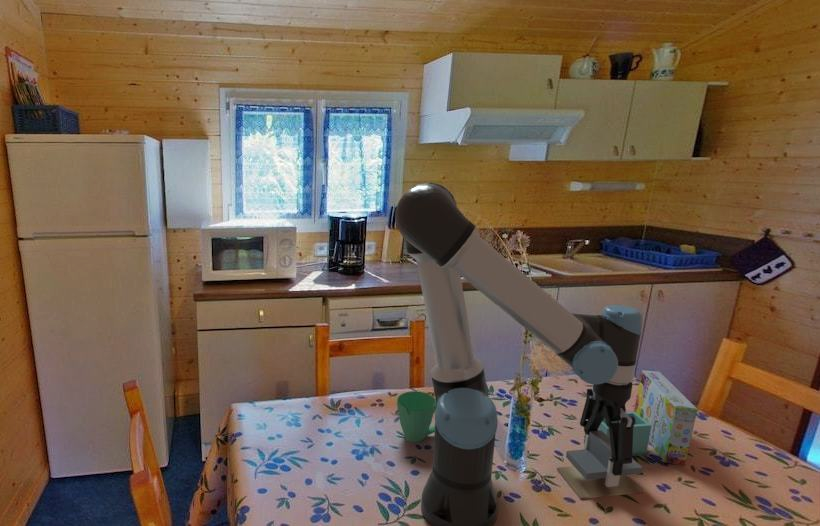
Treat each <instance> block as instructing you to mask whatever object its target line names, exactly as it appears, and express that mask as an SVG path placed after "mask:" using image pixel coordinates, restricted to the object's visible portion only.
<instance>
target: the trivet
mask: <svg viewBox="0 0 820 526" xmlns="http://www.w3.org/2000/svg"><path fill="white" fill-rule="evenodd" d="M556 470H557V472H558V473H559V474H560V476H561V477H562V478H563V479H564V481H565V482H566V483H567V485H569V487H570V488H571V490H572V491H574V493H575V495H577V497H578V498H579V500H586V499H595V498H606V497H615V496H621V495H631V494H640V493H641V494H642V493H643V492H644V490H643V489H642V488H641V487H640V486H639V485H638V484H637V483H636V482H635V481H634V480H633V479H632V478H631V477H630V475H625V476H620V478H619V485H618V486H613V487H606V485H605V481H606V478H599V479H590V480H586V479H585V478H584V477H583V476H582V475H581V474H580V472H579V471H578V470H577V469H576V468H575V467H574V466H573V465H572V466H561V467H560V466H559V467H556Z"/></svg>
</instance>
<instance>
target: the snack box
mask: <svg viewBox="0 0 820 526" xmlns="http://www.w3.org/2000/svg"><path fill="white" fill-rule="evenodd" d="M635 399H636V400H635V405H634V410H633V412H635V413H636V414H638V415H639V416H640V417H641V418H643V419H644V420H645V421H647V422H648V423H649V424H650V425H651V430H650V436H649V443H650V444H651V445H652V447H653V449H654V450H655V451H656V452H657V454H658V456H659V457H660V458H661V460H662V461H663V463H667V464H673V465H679V466H685V465H686V463H687V458H688V454H689V450H690V444H691V441H692V436H693V431H694V426H695V422H696V417H697V414H698V413H697V412H698V408H697V407H696V406H695V405H694V404H693V403H692V402H691V401H690V400H689V399H688V398H687V397H686V396H685V395H684V394H683V393H682V392H681V391H680V390H679V389H678V388H676V386H675V385H674V384H672V383H671V381H670V380H669V379H668V378H666V377H665V376H664V374H663V373H661V371H655V370H654V371H653V370H645V369H644V370H643V369H642V370H640V375H639V382H638V388H637V393H636V398H635Z"/></svg>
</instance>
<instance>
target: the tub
mask: <svg viewBox="0 0 820 526" xmlns="http://www.w3.org/2000/svg"><path fill="white" fill-rule="evenodd" d="M626 414H627V415H628V416H629V417H634V418H635V424H634V427H633V451H632V457H635V456H646V455H647V452H648V447H649V443H650V441H649V436H650V430H651V425H650V424H649V423H648V422H647V421H645V420H644V419H643V418H641V417H640V416H639V415H638V414H636V413H635V412H634V411H626ZM617 422H618V421H613V422H612V423H617ZM599 430H602V431H603V432H604V433H605V434H606V435H607V436H608V437H609V438H610V435H609V427H607V426H606V419H605V418H604V419H603V421H602V423H601V424H600V426H599V428H598V431H599Z"/></svg>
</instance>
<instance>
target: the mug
mask: <svg viewBox="0 0 820 526" xmlns="http://www.w3.org/2000/svg"><path fill="white" fill-rule="evenodd" d="M396 405H397V407H396V408H397V411H398V418H399V423H400V428H401V430H402V433H403V435H404V439H406V441H408V442H411V443H419V442H422V441H424V439H425V437H427V436H429V435H431V434H433V433H434V434H435V424H434V425H432V426H431V424H432V421H433V417H434V415H435V410H436V399H435V396H433V395H431V394H429V393H428V392H424V391H418V390H417V391H413V390H411V391H406V392H403V393H400V394H399V395H398V397H397V398H396Z"/></svg>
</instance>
